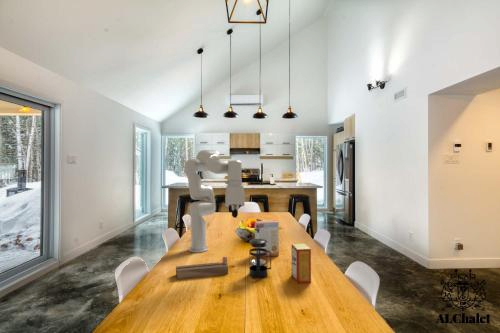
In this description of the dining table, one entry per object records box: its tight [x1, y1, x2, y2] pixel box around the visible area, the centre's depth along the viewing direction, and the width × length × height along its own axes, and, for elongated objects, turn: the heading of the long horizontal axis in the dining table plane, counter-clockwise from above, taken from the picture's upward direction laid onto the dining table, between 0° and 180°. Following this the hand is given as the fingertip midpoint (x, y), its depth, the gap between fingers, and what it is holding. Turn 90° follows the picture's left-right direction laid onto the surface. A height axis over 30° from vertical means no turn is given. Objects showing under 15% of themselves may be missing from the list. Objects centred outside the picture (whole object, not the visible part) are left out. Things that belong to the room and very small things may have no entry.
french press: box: [248, 228, 272, 279], centre depth 131 cm, size 12×9×23 cm
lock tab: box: [220, 255, 228, 265], centre depth 138 cm, size 2×7×6 cm, turn 105°
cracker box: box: [254, 219, 280, 258], centre depth 161 cm, size 14×6×21 cm, turn 100°
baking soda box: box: [291, 242, 312, 284], centre depth 126 cm, size 10×6×16 cm
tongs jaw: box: [175, 261, 221, 277], centre depth 133 cm, size 2×22×4 cm, turn 105°
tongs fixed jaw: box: [176, 261, 229, 280], centre depth 131 cm, size 4×25×5 cm, turn 105°
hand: (234, 217), depth 141 cm, fingers closed
